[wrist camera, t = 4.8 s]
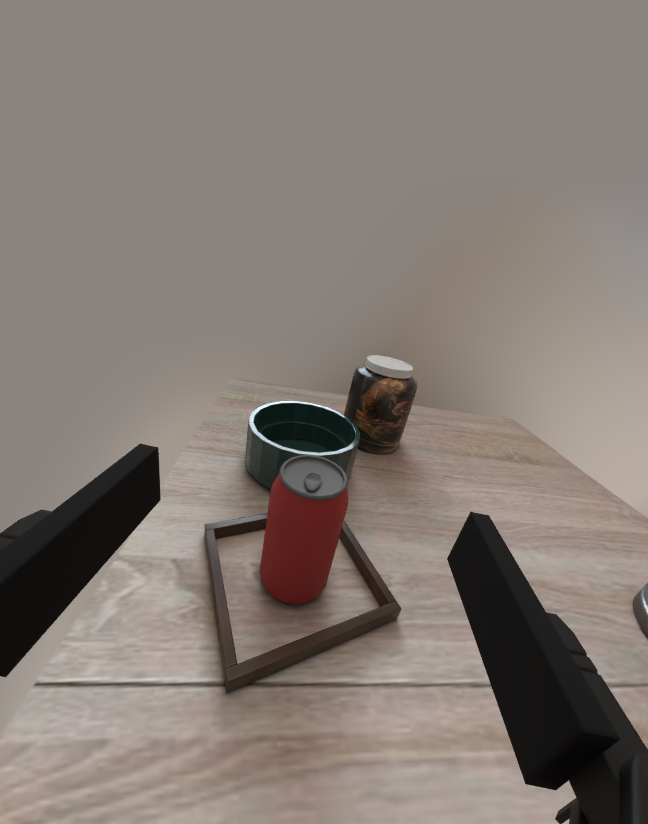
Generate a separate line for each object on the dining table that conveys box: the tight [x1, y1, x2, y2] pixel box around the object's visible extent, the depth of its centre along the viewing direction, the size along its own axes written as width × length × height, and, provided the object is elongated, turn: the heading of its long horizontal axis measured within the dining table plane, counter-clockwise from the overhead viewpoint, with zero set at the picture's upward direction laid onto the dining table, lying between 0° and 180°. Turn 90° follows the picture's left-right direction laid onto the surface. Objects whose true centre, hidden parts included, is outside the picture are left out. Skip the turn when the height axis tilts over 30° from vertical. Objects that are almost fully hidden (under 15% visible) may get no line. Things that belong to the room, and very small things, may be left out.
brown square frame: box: [204, 513, 401, 693], centre depth 29 cm, size 14×15×2 cm
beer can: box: [260, 455, 348, 604], centre depth 27 cm, size 7×7×12 cm
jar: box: [344, 355, 417, 454], centre depth 55 cm, size 12×12×15 cm
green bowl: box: [245, 401, 360, 489], centre depth 45 cm, size 16×16×7 cm
